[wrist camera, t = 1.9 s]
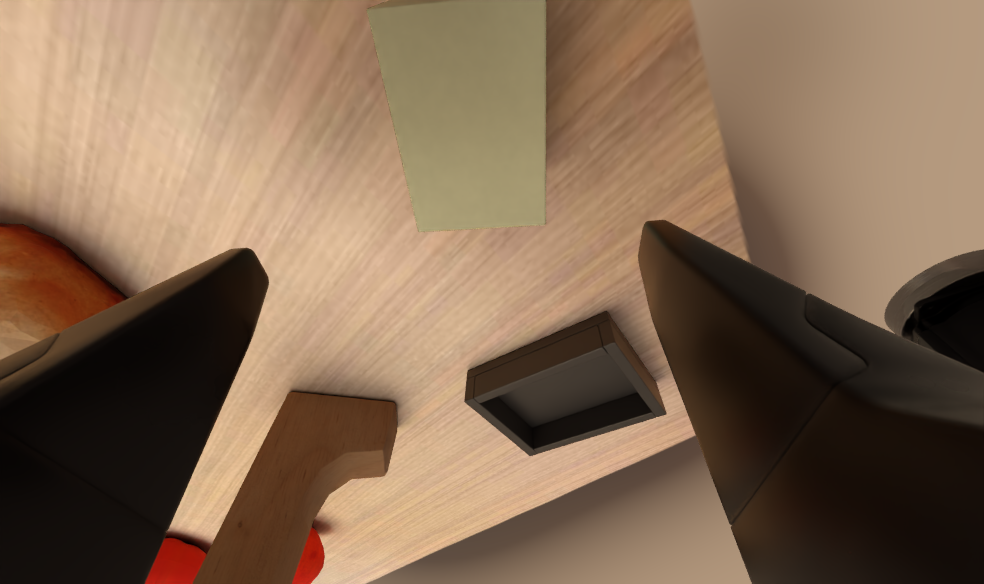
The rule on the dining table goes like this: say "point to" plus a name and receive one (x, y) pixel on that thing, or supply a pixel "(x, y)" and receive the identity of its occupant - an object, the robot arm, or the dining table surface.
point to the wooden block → (297, 484)
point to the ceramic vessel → (44, 288)
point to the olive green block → (467, 108)
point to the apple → (310, 560)
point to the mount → (565, 387)
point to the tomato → (176, 563)
